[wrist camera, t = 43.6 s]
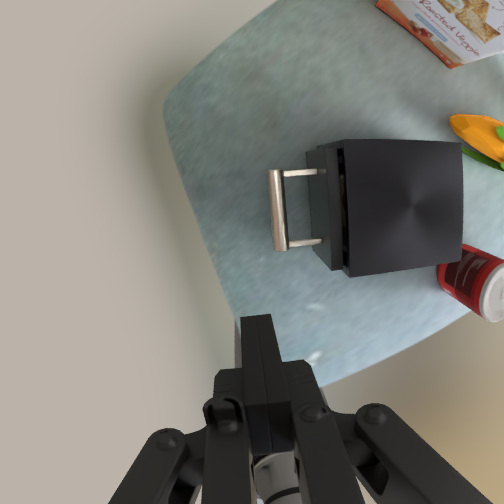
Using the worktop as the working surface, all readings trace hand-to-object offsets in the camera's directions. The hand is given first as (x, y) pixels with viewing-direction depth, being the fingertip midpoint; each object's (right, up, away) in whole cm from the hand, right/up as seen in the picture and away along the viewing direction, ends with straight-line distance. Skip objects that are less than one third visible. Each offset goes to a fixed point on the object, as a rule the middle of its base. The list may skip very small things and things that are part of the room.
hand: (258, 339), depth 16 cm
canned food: (+29, +2, +24) cm, 38 cm away
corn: (+34, +20, +20) cm, 44 cm away
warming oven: (+14, +11, +21) cm, 28 cm away
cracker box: (+23, +35, +15) cm, 45 cm away
